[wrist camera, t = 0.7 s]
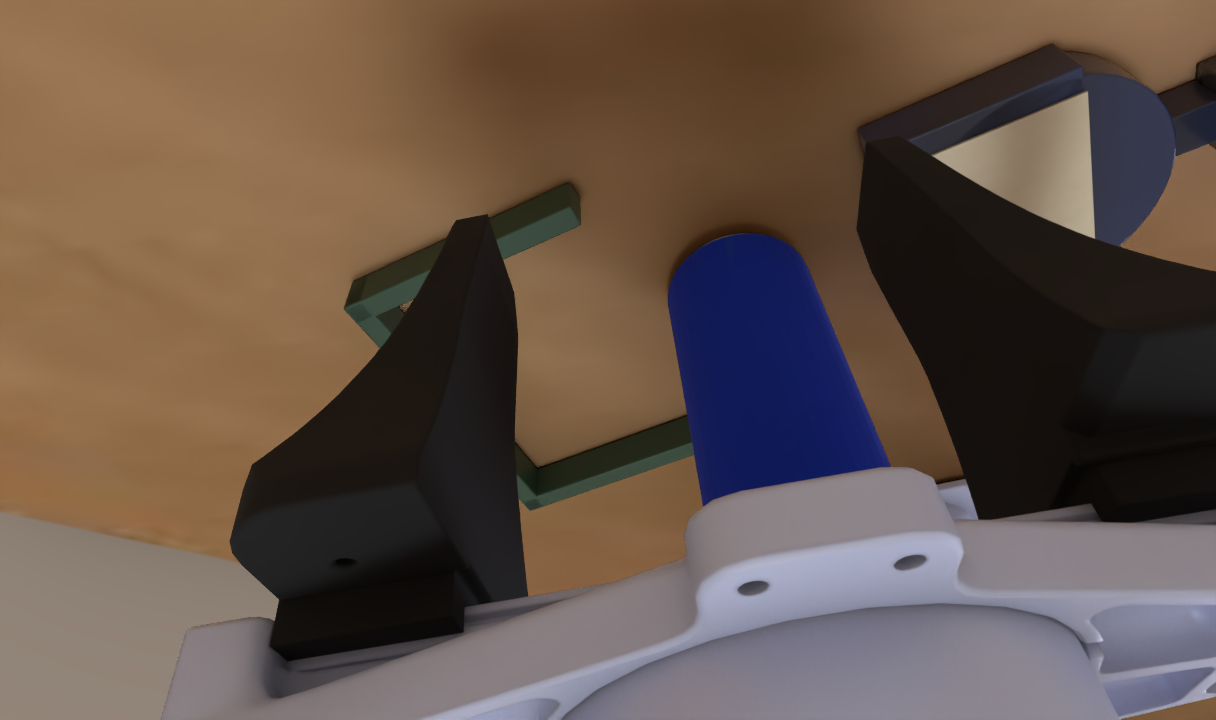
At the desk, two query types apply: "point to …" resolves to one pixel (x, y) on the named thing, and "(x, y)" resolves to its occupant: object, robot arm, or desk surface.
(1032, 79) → the blue stamp
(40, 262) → the desk surface
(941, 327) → the robot arm
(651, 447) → the green u-shaped bracket
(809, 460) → the beverage can
